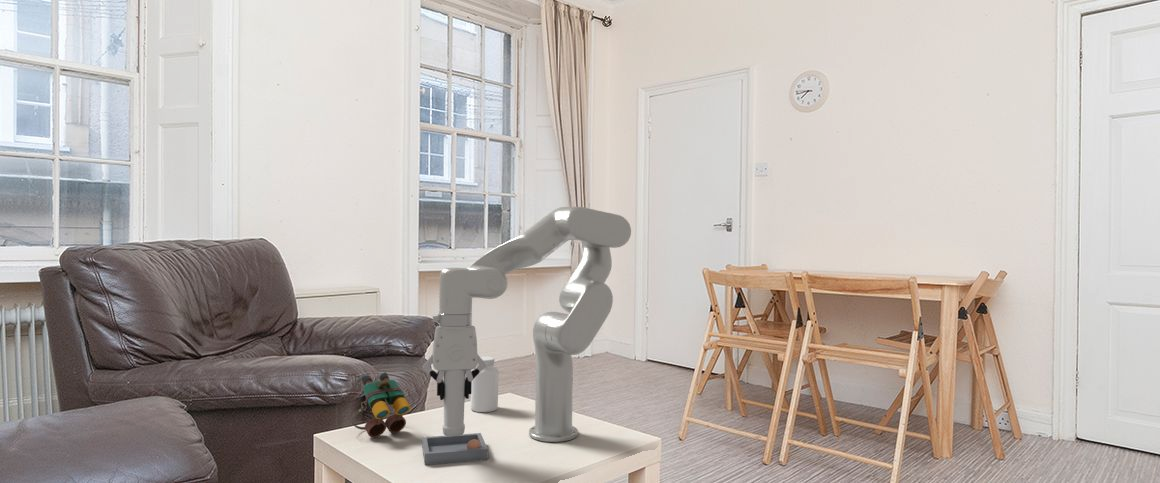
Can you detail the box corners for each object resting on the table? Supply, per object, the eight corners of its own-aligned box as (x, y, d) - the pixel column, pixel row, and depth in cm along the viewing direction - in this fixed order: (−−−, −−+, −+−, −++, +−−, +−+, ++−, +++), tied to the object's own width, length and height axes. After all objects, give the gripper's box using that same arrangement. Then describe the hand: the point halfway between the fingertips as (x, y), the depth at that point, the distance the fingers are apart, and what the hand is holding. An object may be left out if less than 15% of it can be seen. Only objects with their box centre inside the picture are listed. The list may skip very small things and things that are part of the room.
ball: (466, 451, 152) (466, 437, 152) (479, 450, 153) (479, 436, 153) (467, 456, 149) (467, 442, 149) (481, 454, 150) (481, 441, 150)
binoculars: (356, 452, 163) (370, 407, 156) (338, 413, 171) (350, 369, 165) (408, 440, 172) (423, 398, 166) (388, 404, 181) (401, 362, 175)
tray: (422, 447, 157) (422, 437, 157) (480, 443, 161) (480, 432, 161) (424, 465, 145) (424, 453, 145) (487, 459, 149) (487, 448, 149)
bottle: (440, 431, 154) (441, 325, 154) (461, 428, 156) (463, 324, 156) (445, 437, 149) (446, 328, 149) (467, 435, 152) (469, 327, 151)
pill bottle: (492, 413, 186) (493, 361, 186) (466, 411, 188) (466, 360, 188) (501, 406, 194) (502, 356, 194) (476, 404, 196) (476, 355, 195)
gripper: (418, 323, 147) (417, 404, 147) (494, 322, 151) (492, 400, 152) (417, 319, 154) (416, 396, 154) (489, 317, 158) (488, 392, 159)
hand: (454, 397), depth 153 cm, fingers closed on bottle, 5 cm apart
